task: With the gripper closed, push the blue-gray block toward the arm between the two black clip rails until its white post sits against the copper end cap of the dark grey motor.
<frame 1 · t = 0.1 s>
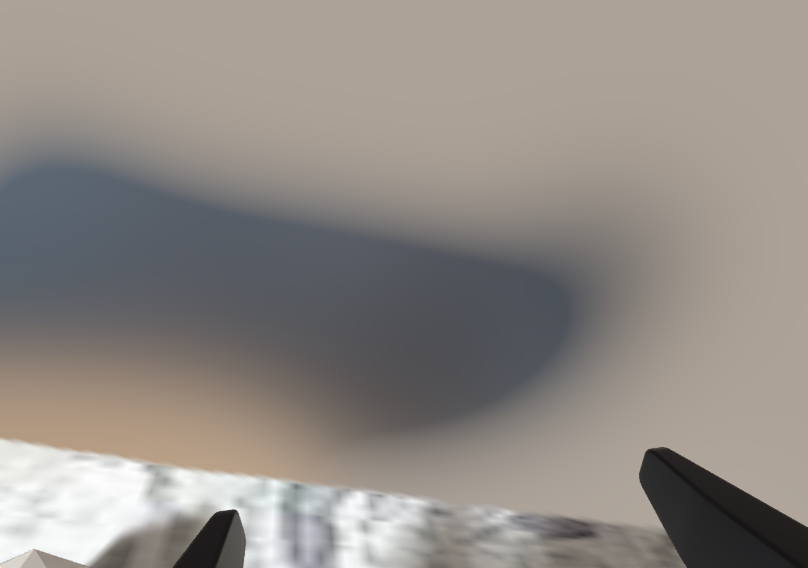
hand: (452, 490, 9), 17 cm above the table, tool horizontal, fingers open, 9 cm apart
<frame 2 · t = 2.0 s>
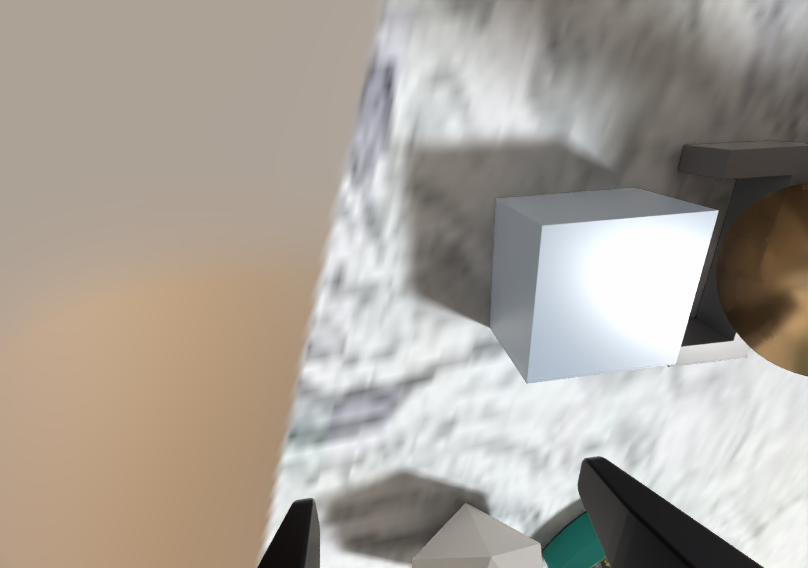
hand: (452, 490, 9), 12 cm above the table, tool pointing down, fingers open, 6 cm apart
clip bracket: (687, 251, 21), on the table
die: (461, 528, 28), on the table
blue-gray block: (556, 259, 21), on the table
digital multimeter: (624, 547, 33), on the table
motor: (790, 242, 22), on the table
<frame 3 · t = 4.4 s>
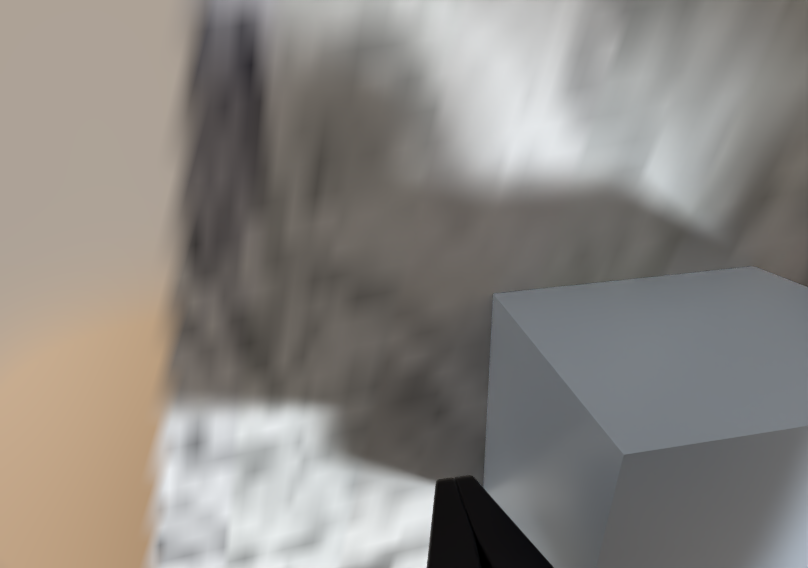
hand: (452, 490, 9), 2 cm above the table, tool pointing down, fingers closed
blue-gray block: (603, 389, 11), on the table, touching gripper
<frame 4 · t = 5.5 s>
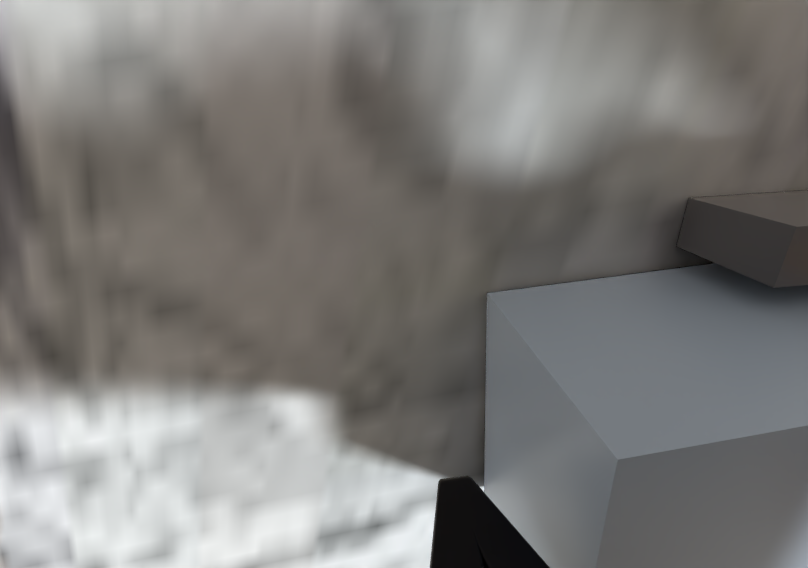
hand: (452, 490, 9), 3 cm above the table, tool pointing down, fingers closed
clip bracket: (694, 379, 12), on the table
blue-gray block: (604, 388, 11), on the table, touching gripper, motor
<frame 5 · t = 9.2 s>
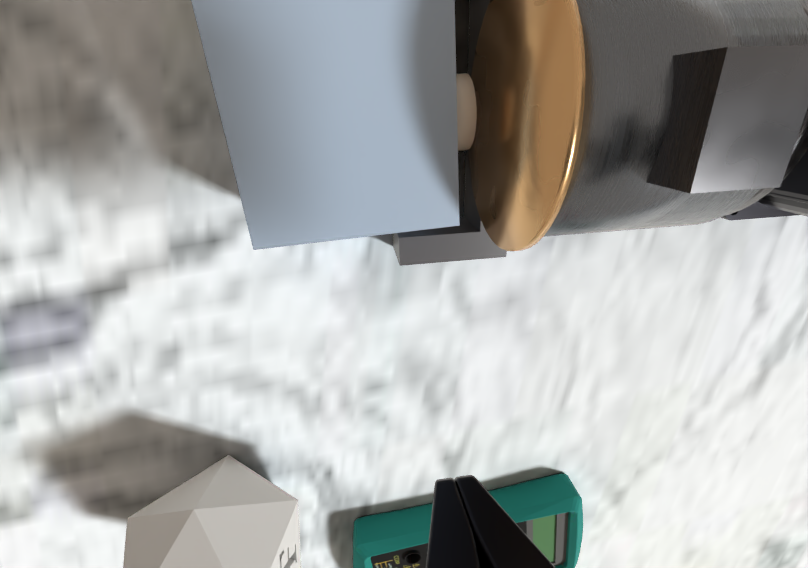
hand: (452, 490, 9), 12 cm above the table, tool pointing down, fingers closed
clip bracket: (427, 120, 17), on the table
die: (237, 488, 24), on the table
blue-gray block: (344, 121, 17), on the table
digital multimeter: (463, 521, 29), on the table
motor: (566, 114, 18), on the table
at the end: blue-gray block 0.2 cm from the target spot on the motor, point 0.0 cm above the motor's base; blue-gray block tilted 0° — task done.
